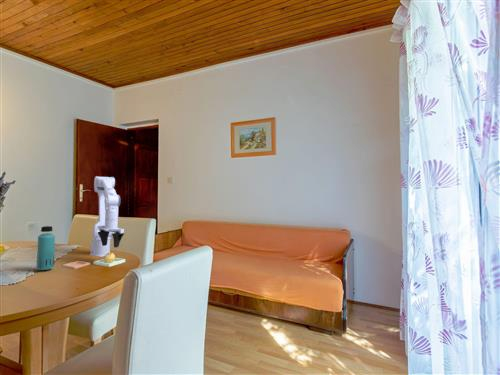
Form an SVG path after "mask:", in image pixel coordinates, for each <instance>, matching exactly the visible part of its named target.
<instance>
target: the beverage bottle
mask: <svg viewBox="0 0 500 375" xmlns="http://www.w3.org/2000/svg"><path fill="white" fill-rule="evenodd" d="M40 232H42V233H41V234H39V235H38V236H37V250H36V251H37V254H36V261H35V262H36V265H35V267H36V270H38V271H46V270H47V271H48V270H51V269H53V268H54V266H55V250H56V247H55V246H56V235H55V234H54V233H50V232H53V226H51V225H46V226H41V230H40ZM47 232H48V233H47Z"/></svg>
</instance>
